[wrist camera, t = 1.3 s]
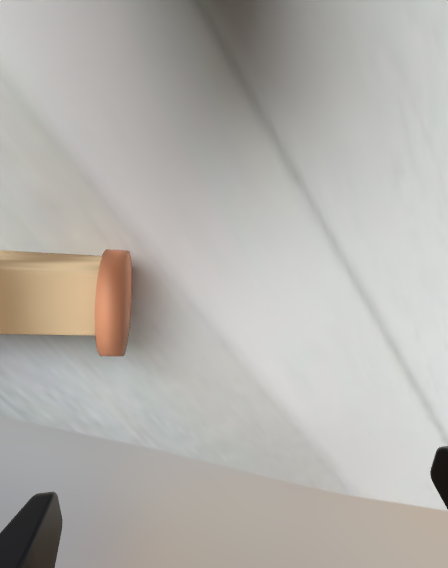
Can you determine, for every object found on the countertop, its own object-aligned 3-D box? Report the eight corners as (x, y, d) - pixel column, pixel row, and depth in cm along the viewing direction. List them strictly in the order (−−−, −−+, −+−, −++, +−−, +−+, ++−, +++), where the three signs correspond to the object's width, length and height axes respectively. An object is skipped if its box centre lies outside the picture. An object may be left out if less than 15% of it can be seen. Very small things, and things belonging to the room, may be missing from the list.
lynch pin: (132, 239, 19) (119, 269, 14) (131, 324, 20) (119, 378, 15) (-75, 226, 17) (-176, 254, 12) (-57, 320, 19) (-139, 379, 14)
